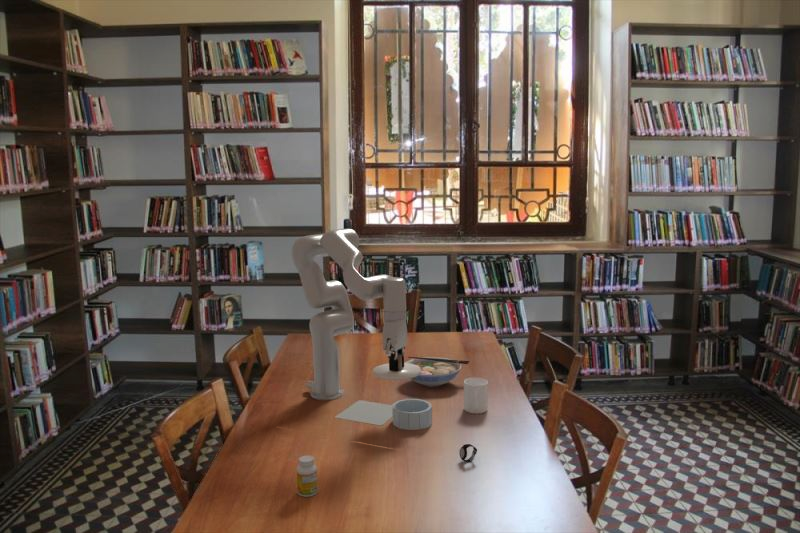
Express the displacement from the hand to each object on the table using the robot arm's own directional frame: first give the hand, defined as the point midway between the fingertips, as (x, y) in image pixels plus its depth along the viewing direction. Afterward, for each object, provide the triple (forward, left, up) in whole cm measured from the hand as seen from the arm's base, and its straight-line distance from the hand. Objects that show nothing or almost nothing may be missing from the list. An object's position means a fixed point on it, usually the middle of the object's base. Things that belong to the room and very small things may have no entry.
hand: (396, 368), depth 235 cm
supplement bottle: (0, -55, -18) cm, 58 cm away
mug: (+22, +18, -18) cm, 33 cm away
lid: (0, 0, -1) cm, 1 cm away
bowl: (+6, -1, -18) cm, 19 cm away
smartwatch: (+33, -20, -18) cm, 43 cm away
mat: (-11, +1, -18) cm, 21 cm away
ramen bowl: (-3, +39, -18) cm, 43 cm away
